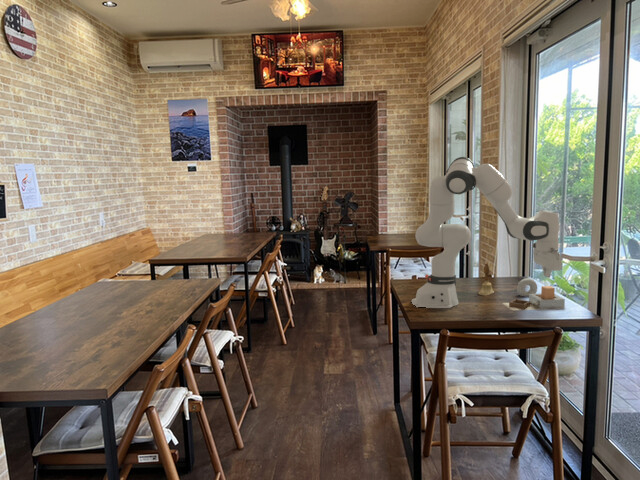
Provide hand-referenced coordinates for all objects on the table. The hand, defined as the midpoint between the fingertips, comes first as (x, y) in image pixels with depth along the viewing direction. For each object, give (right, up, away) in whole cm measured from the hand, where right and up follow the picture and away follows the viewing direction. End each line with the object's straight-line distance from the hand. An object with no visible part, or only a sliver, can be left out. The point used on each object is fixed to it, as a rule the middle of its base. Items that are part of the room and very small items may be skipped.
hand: (546, 276), depth 209 cm
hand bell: (-16, -12, +31) cm, 37 cm away
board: (-5, -15, +2) cm, 16 cm away
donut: (0, -12, +20) cm, 24 cm away
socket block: (+1, -13, +2) cm, 13 cm away
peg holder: (-11, -14, +2) cm, 18 cm away
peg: (+1, -13, +1) cm, 13 cm away
